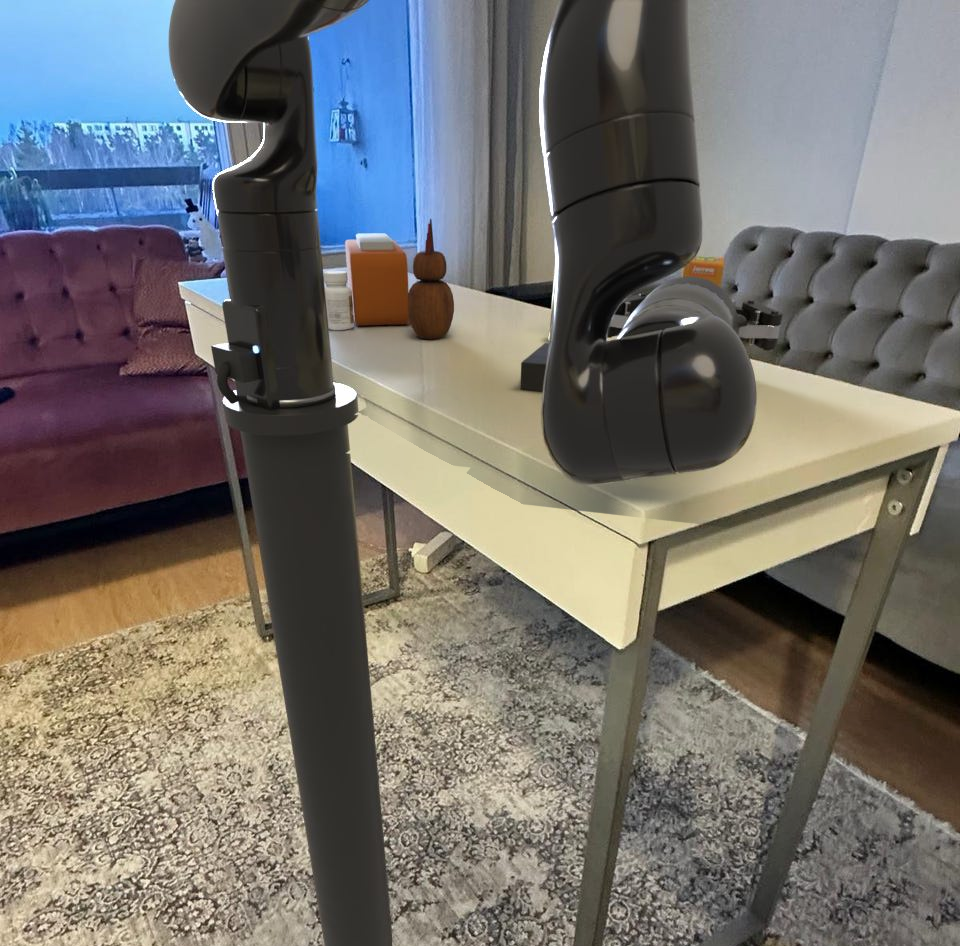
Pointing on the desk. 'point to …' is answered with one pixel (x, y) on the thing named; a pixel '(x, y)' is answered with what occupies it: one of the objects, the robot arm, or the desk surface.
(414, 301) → the wooden figurine
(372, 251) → the alarm clock
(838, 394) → the desk surface
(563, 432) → the robot arm
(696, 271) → the supplement box
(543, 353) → the socket pad
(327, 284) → the pill bottle
